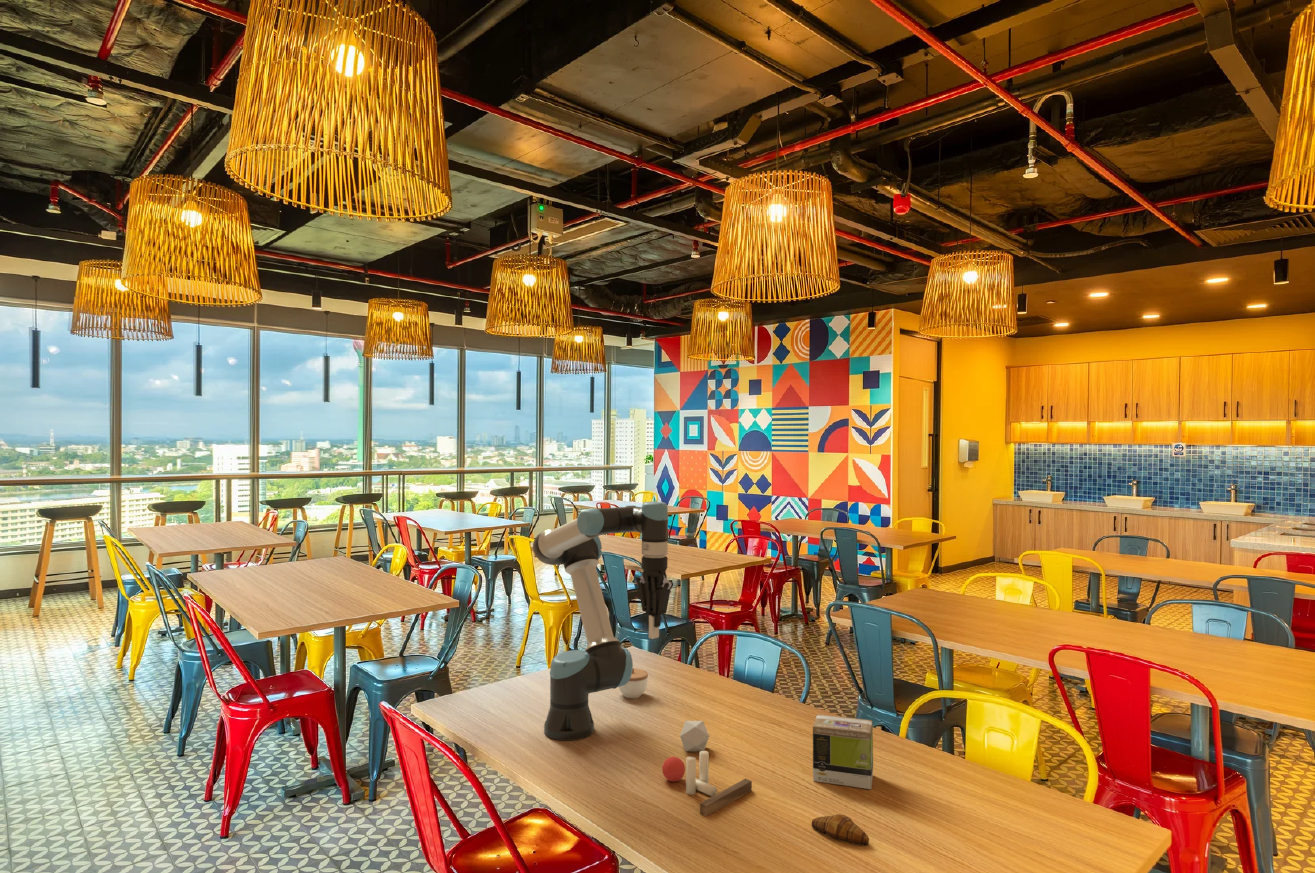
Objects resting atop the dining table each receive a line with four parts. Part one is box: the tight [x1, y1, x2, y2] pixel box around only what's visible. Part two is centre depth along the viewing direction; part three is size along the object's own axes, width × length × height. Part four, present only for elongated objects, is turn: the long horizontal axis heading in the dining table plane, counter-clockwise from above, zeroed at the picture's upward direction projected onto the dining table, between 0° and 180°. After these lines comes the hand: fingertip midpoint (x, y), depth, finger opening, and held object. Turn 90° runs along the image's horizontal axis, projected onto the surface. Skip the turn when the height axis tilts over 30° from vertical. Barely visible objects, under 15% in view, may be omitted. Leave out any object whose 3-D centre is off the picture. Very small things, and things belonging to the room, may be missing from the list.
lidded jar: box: [618, 667, 649, 699], centre depth 257 cm, size 11×11×9 cm
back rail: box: [699, 778, 753, 817], centre depth 181 cm, size 2×18×2 cm, turn 136°
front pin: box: [685, 778, 717, 797], centre depth 187 cm, size 2×2×8 cm
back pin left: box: [698, 750, 710, 784], centre depth 190 cm, size 2×2×8 cm
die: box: [679, 720, 710, 752], centre depth 212 cm, size 8×9×10 cm
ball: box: [661, 756, 686, 782], centre depth 192 cm, size 6×6×6 cm
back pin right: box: [685, 756, 697, 795], centre depth 186 cm, size 2×2×8 cm
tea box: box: [812, 713, 874, 790], centre depth 195 cm, size 15×10×15 cm, turn 71°
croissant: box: [811, 813, 870, 846], centre depth 166 cm, size 14×7×5 cm, turn 54°
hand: (653, 637), depth 211 cm, fingers closed
